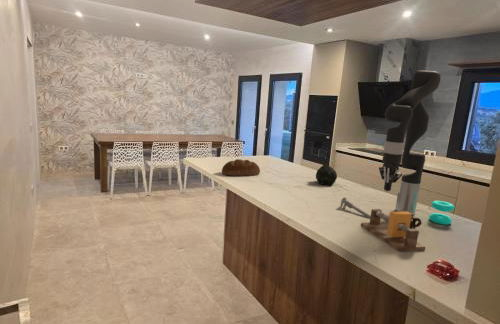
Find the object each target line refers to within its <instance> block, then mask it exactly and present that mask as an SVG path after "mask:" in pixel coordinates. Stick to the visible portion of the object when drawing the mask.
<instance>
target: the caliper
mask: <svg viewBox="0 0 500 324" xmlns="http://www.w3.org/2000/svg"><path fill="white" fill-rule="evenodd" d="M347 199H348V198H347V197H345V196H344V197H343V198H342V199H341V201H340V208H343V209H345V208H346V207H348V208H349V209H353V210H354V211H356V212H358V213H359V214H361V215H363V216H364V217H366V218H367V219H370V217H371V214H369V213H368V212H366V211H364V210H362V209H360V208H359V207H357V206H356V205H354V204H353V203H352V202H350V201H349V200H347Z"/></svg>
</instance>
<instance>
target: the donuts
mask: <svg viewBox="0 0 500 324" xmlns="http://www.w3.org/2000/svg"><path fill="white" fill-rule="evenodd" d="M431 207H432V208H433V209H434V210H437V211H440V212H444V213H446V212H448V213H450V212H453V211H455V205H454V204H452V203H450V202H447V201H444V200H443V201H442V200H433V201H432V202H431ZM428 218H429V220H430V221H431V222H433V223H436V224H439V225H445V226H447V225H450V224H451V223H452V221H453V220H452V218H451V217H450V216H449V215H447V214H443V213H439V212H433V213H431V214H429V216H428Z"/></svg>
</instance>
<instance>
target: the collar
mask: <svg viewBox="0 0 500 324" xmlns="http://www.w3.org/2000/svg"><path fill="white" fill-rule="evenodd" d="M411 216H412V214H411V213H409V212H407V211H405V212H397V211H390V213H389V217H390V218H389V223H387V224H388V230H387V235H389V236H390V237H405V236H406V232H404V231H402V230H400V229H399V228H398V224H399V223H402V224H403V225H405V226H407V227H409V228H410V222H411V221H412V220H411ZM412 217H413V216H412Z"/></svg>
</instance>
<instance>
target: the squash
mask: <svg viewBox="0 0 500 324" xmlns="http://www.w3.org/2000/svg"><path fill="white" fill-rule="evenodd" d="M315 179H316V180H317V184H321V185H327V186H329V185H330V186H331V185H334V184H335V183H336V180H337V179H338V174H337V171H336V170H335V169H334V168H333V167H331V166H330V165H328V164H326V163H325V164H322V166H320V167H319V168H318V169H317V171H316V173H315Z"/></svg>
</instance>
